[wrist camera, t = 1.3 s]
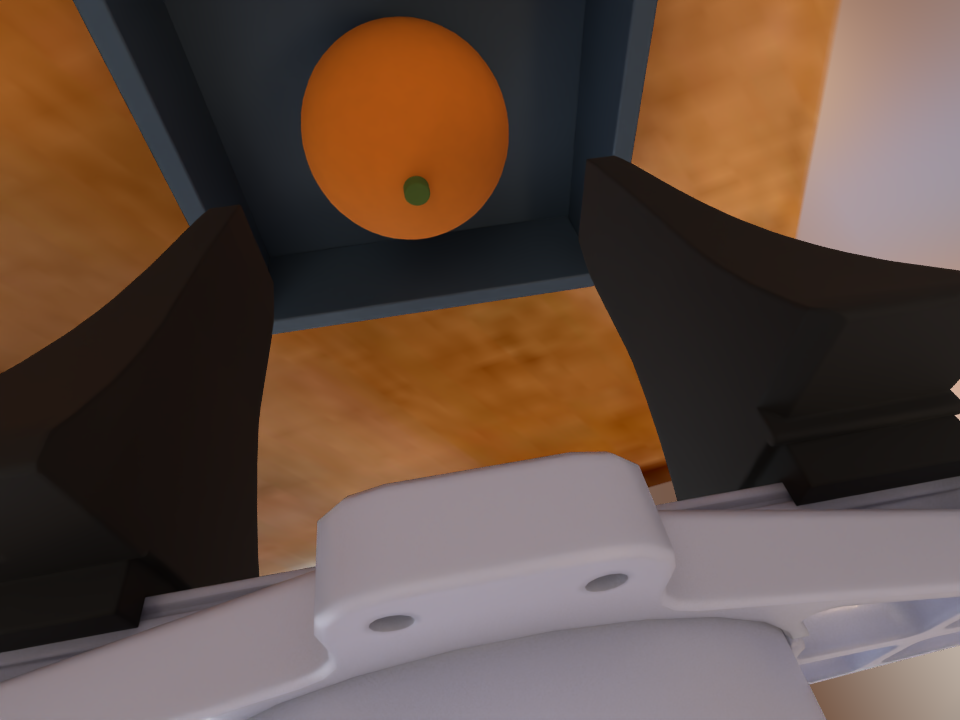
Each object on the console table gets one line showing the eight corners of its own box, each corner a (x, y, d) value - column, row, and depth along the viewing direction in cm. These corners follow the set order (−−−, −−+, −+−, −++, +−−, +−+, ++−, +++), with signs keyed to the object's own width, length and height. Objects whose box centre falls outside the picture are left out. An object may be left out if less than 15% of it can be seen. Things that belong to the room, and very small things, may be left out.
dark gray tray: (259, 267, 20) (246, 338, 18) (82, -141, 12) (11, -114, 10) (580, 221, 21) (612, 284, 19) (620, -186, 13) (687, -173, 10)
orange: (299, 160, 17) (286, 272, 14) (314, -40, 14) (303, 36, 10) (462, 191, 19) (491, 298, 15) (513, 21, 16) (568, 105, 12)
